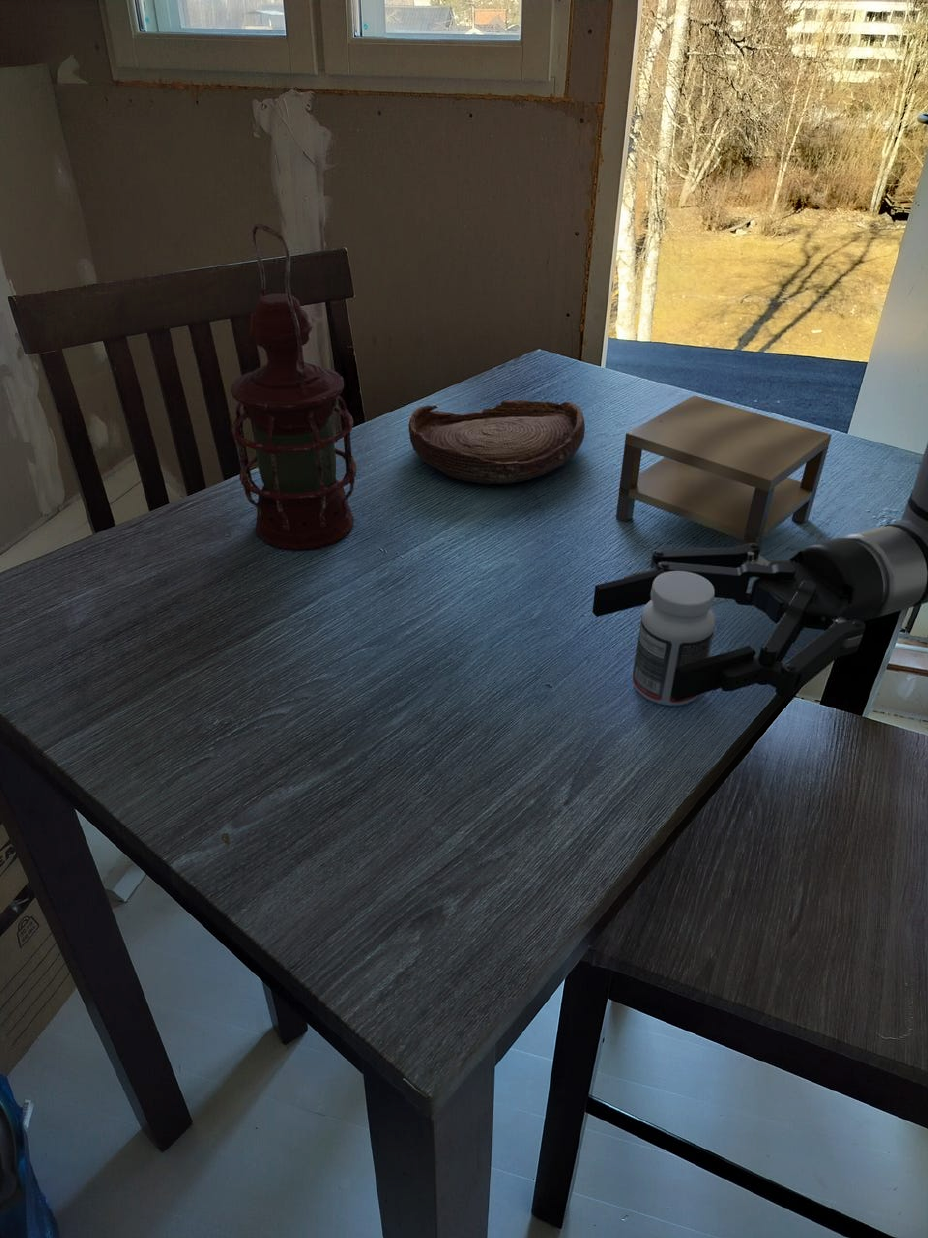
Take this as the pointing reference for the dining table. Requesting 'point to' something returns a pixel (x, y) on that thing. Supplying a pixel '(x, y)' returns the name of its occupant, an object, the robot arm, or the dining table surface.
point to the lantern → (292, 429)
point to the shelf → (723, 468)
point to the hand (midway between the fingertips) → (633, 640)
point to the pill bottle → (673, 633)
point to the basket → (498, 440)
